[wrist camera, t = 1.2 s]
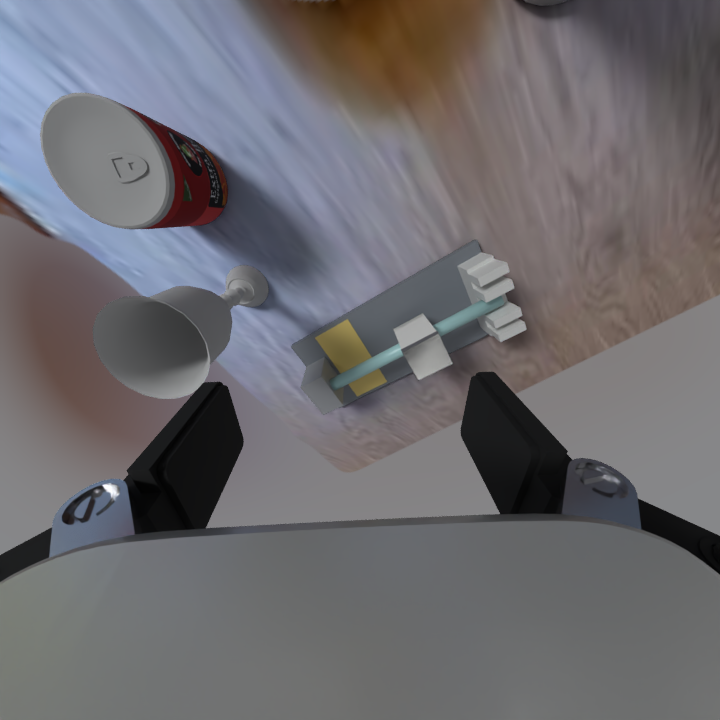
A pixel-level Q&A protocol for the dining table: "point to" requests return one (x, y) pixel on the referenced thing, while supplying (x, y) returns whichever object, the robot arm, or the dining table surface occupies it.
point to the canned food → (129, 166)
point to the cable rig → (395, 307)
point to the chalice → (172, 333)
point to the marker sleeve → (422, 347)
